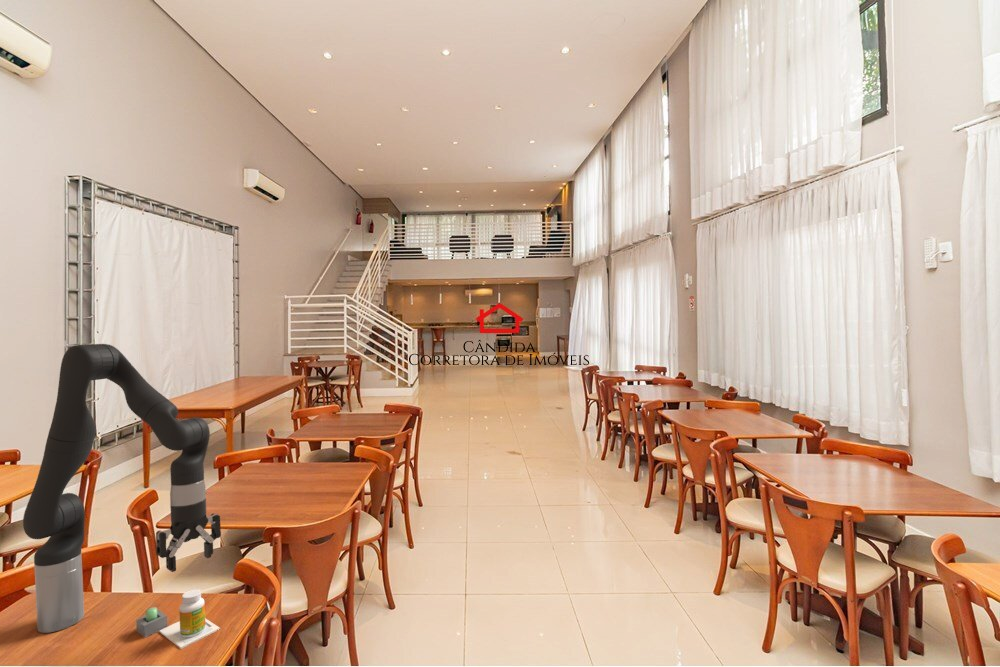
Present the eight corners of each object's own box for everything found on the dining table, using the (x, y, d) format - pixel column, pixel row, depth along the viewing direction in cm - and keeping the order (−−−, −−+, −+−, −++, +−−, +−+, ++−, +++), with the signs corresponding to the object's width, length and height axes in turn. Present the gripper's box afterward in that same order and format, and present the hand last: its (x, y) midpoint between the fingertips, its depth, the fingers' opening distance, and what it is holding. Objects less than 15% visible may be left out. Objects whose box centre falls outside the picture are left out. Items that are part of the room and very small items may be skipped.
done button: (144, 623, 126) (143, 610, 126) (155, 618, 128) (154, 606, 128) (148, 626, 125) (147, 613, 125) (159, 621, 127) (158, 609, 127)
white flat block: (159, 632, 125) (159, 630, 125) (197, 614, 133) (197, 612, 133) (181, 649, 118) (180, 647, 118) (219, 629, 126) (219, 627, 126)
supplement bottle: (193, 639, 121) (192, 600, 121) (174, 637, 122) (173, 598, 122) (210, 626, 126) (209, 588, 126) (192, 624, 127) (191, 586, 127)
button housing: (136, 631, 126) (136, 619, 126) (159, 621, 130) (158, 609, 130) (144, 637, 123) (144, 625, 123) (167, 627, 127) (166, 615, 127)
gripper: (211, 488, 131) (213, 549, 132) (149, 505, 120) (151, 572, 120) (225, 493, 127) (227, 556, 128) (162, 511, 115) (165, 580, 116)
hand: (190, 563), depth 124 cm, fingers open, 7 cm apart
